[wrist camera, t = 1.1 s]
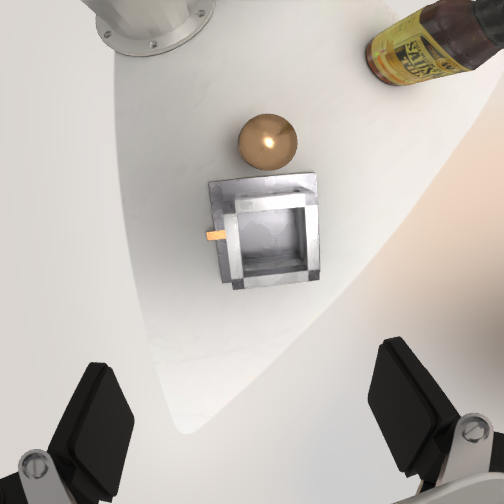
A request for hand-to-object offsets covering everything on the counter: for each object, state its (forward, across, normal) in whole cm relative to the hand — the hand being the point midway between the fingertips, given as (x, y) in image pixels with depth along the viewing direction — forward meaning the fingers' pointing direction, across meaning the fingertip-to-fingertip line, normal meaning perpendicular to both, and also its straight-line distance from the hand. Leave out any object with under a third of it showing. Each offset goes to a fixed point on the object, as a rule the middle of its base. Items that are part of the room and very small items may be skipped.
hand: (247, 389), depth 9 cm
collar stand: (+22, -3, 0) cm, 22 cm away
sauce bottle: (+22, -18, -17) cm, 33 cm away
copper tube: (+22, -3, -8) cm, 23 cm away
